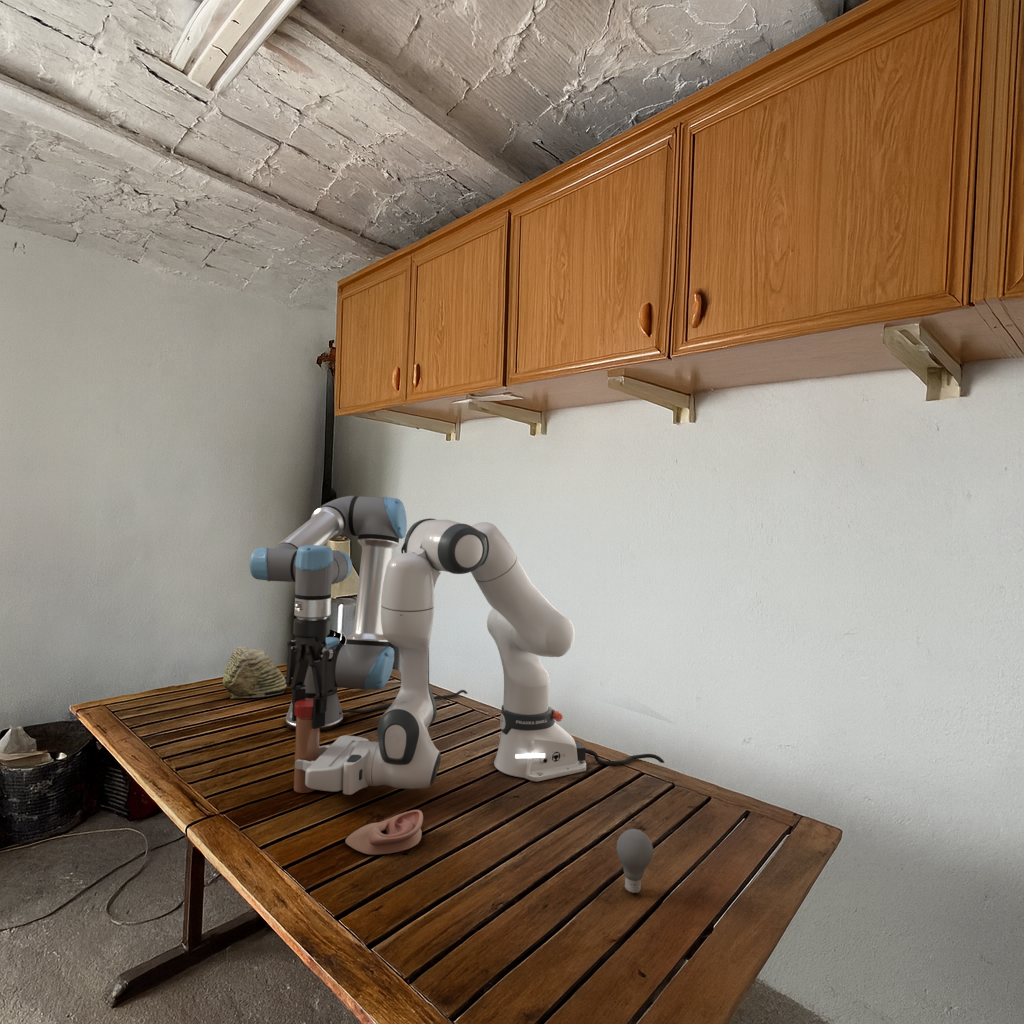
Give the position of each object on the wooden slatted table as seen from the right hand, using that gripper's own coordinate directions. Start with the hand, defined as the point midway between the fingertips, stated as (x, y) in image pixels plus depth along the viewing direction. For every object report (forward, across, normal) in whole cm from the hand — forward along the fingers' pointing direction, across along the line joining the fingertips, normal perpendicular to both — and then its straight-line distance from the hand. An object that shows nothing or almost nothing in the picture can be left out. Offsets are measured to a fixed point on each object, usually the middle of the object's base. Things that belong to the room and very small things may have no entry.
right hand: (302, 757), depth 137 cm
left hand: (-1, 0, -8) cm, 8 cm away
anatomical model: (-24, +17, +7) cm, 30 cm away
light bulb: (-69, +25, +7) cm, 74 cm away
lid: (-1, 0, -12) cm, 12 cm away
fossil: (+41, -57, +7) cm, 70 cm away
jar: (-1, 0, +7) cm, 7 cm away
